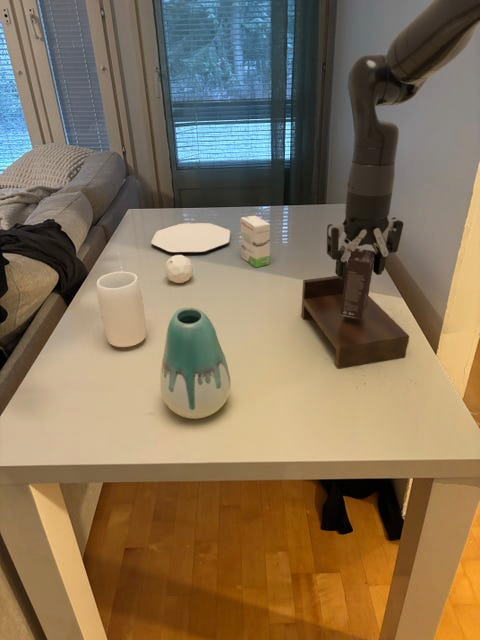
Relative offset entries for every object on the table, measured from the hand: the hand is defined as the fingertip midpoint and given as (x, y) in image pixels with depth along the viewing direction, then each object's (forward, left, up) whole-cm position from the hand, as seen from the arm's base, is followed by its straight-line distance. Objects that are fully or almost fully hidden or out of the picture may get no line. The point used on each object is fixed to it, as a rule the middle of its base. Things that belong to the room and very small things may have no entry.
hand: (359, 275), depth 88 cm
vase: (+34, +12, -15) cm, 39 cm away
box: (0, 0, -8) cm, 8 cm away
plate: (+24, -63, -15) cm, 69 cm away
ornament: (+31, -36, -15) cm, 50 cm away
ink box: (+9, -43, -15) cm, 46 cm away
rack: (0, -1, -14) cm, 14 cm away
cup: (+45, -11, -15) cm, 49 cm away
